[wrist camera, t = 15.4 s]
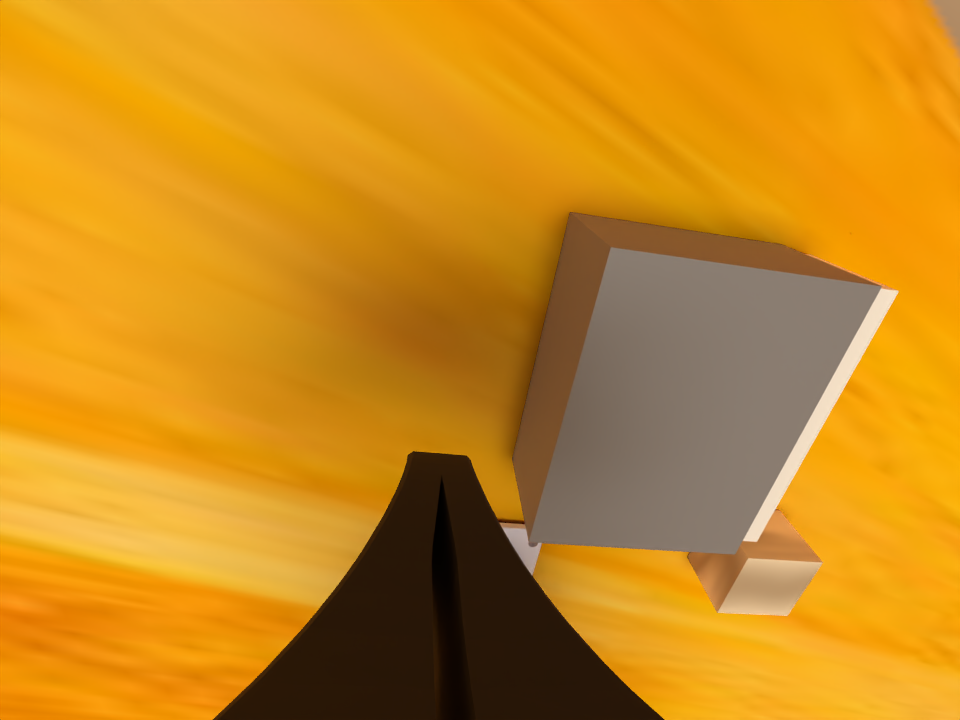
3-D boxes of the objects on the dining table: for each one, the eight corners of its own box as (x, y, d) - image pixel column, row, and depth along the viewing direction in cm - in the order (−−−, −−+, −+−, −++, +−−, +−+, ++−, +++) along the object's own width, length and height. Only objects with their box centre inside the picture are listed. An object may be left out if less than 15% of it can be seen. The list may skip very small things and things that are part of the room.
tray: (708, 474, 25) (756, 541, 22) (539, 460, 24) (557, 529, 20) (811, 254, 20) (899, 290, 16) (602, 223, 19) (643, 254, 15)
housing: (682, 473, 26) (735, 554, 21) (512, 459, 24) (528, 542, 20) (781, 244, 20) (882, 286, 16) (570, 212, 19) (611, 247, 14)
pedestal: (750, 561, 29) (787, 615, 26) (687, 557, 29) (717, 612, 26) (779, 510, 27) (822, 562, 24) (712, 505, 27) (748, 558, 24)
